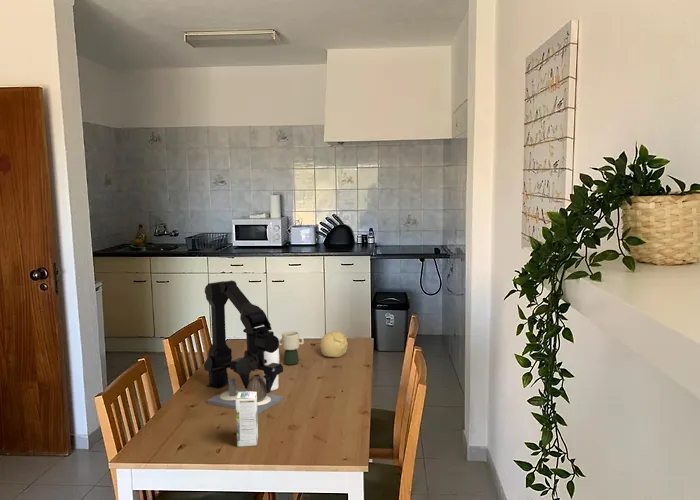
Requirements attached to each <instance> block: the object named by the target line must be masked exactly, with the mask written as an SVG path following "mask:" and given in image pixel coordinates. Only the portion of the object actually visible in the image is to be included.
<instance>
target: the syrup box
mask: <svg viewBox="0 0 700 500" xmlns="http://www.w3.org/2000/svg"><path fill="white" fill-rule="evenodd" d="M258 415H259V414H258V413H257V392H250V391H247V392H238V395H237V398H236V409H235V423H236V424H235V426H236V428H235V429H236V447H238V448H241V447H253V446H256V447H257V445H258V440H259V439H258V438H259V425H258V424H259V422H258V421H259V419H258Z"/></svg>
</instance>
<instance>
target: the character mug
mask: <svg viewBox="0 0 700 500" xmlns="http://www.w3.org/2000/svg"><path fill="white" fill-rule="evenodd" d="M277 338H278V340H279V347H280V346H282V348H283V350H284V356H283V362H284V364H286V365H294V364H298V363H299V362H300V357H299V354H298V349H299V347H300V346H302V345H304V343H305V340H304V339H305V338H304V336H300V332H298V331H296V330H295V331H294V330H289V331H284V332H282V333H281V337H277ZM300 340H301V342H300Z"/></svg>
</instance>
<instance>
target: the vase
mask: <svg viewBox="0 0 700 500" xmlns="http://www.w3.org/2000/svg"><path fill="white" fill-rule="evenodd" d="M247 391H250V392H257V402H261V401H263V400H264V399H265V397H266V395H267V391H266V383H265V381H264V380H263V377H262V376H261V375H260V374H258V373H257V374H253V375H252V377H251V379H249V383H248V386H247Z"/></svg>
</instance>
